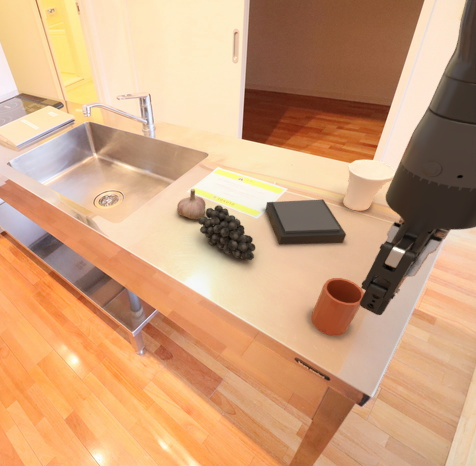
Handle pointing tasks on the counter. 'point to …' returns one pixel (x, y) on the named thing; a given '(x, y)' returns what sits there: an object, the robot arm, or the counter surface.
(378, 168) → the cup
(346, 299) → the terracotta cup
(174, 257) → the counter surface
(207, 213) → the fruit
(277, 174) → the counter surface
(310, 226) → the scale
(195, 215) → the garlic bulb
